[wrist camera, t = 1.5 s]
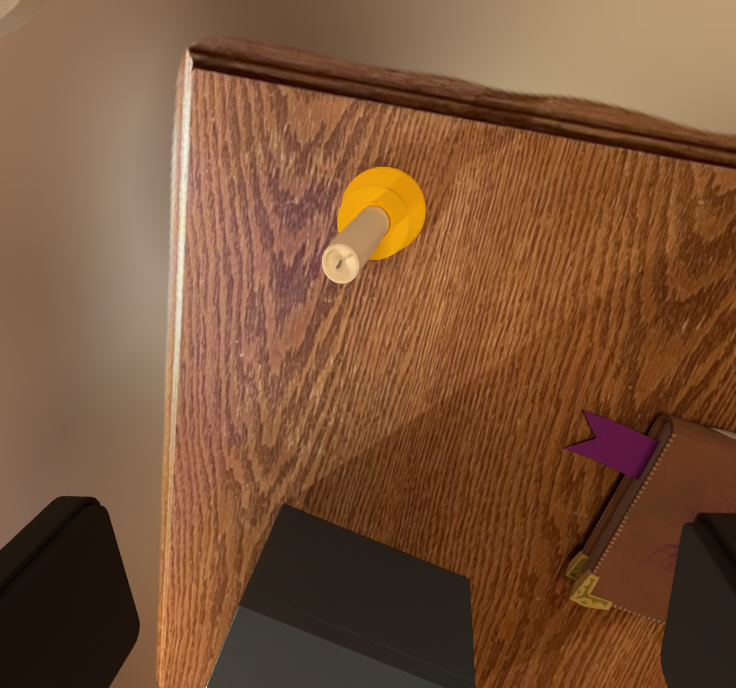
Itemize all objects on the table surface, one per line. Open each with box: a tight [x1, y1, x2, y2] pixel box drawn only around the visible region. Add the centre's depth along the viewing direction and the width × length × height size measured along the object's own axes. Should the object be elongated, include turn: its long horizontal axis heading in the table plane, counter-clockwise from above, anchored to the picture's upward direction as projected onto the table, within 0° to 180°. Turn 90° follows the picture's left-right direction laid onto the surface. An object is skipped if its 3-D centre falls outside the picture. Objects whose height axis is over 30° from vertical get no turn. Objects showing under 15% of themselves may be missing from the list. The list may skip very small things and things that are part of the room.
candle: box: [322, 166, 426, 284], centre depth 26 cm, size 5×5×16 cm
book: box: [564, 411, 736, 625], centre depth 37 cm, size 16×25×5 cm, turn 73°
